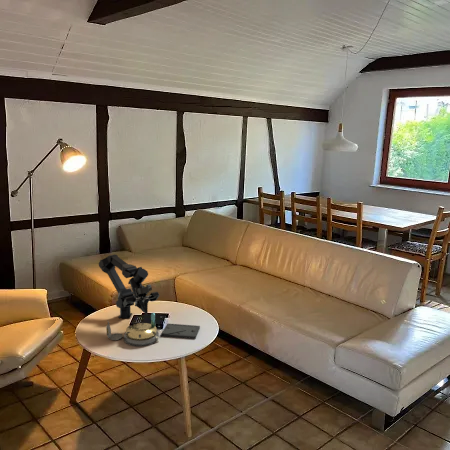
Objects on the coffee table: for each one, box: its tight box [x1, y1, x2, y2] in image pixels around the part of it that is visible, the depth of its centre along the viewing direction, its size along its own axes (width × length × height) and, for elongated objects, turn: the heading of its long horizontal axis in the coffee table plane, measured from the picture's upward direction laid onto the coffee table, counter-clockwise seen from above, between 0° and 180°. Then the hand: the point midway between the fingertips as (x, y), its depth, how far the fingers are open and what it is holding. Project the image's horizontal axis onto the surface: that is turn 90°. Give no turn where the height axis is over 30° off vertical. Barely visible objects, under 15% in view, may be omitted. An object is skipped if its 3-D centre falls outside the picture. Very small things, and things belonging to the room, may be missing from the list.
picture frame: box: [160, 323, 201, 340], centre depth 234 cm, size 13×2×18 cm
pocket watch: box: [105, 320, 124, 341], centre depth 225 cm, size 8×8×10 cm
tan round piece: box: [125, 312, 158, 341], centre depth 225 cm, size 15×15×10 cm
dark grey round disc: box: [123, 330, 160, 347], centre depth 226 cm, size 17×18×3 cm
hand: (146, 313), depth 233 cm, fingers closed
